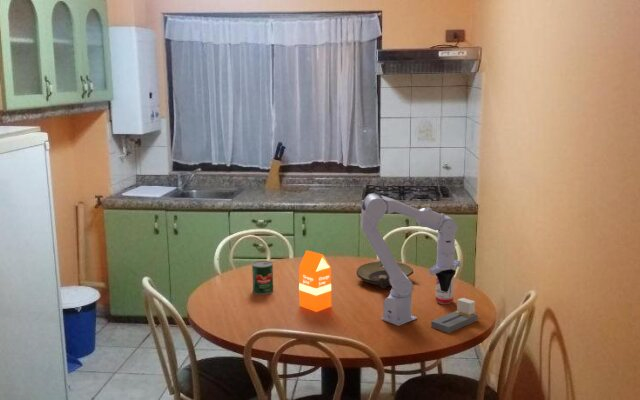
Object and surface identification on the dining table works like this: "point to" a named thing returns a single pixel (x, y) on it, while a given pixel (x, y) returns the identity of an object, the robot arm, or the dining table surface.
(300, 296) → the orange juice
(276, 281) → the dining table surface
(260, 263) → the canned tomato
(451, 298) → the beer can
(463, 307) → the fader knob
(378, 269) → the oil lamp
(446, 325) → the fader deck
